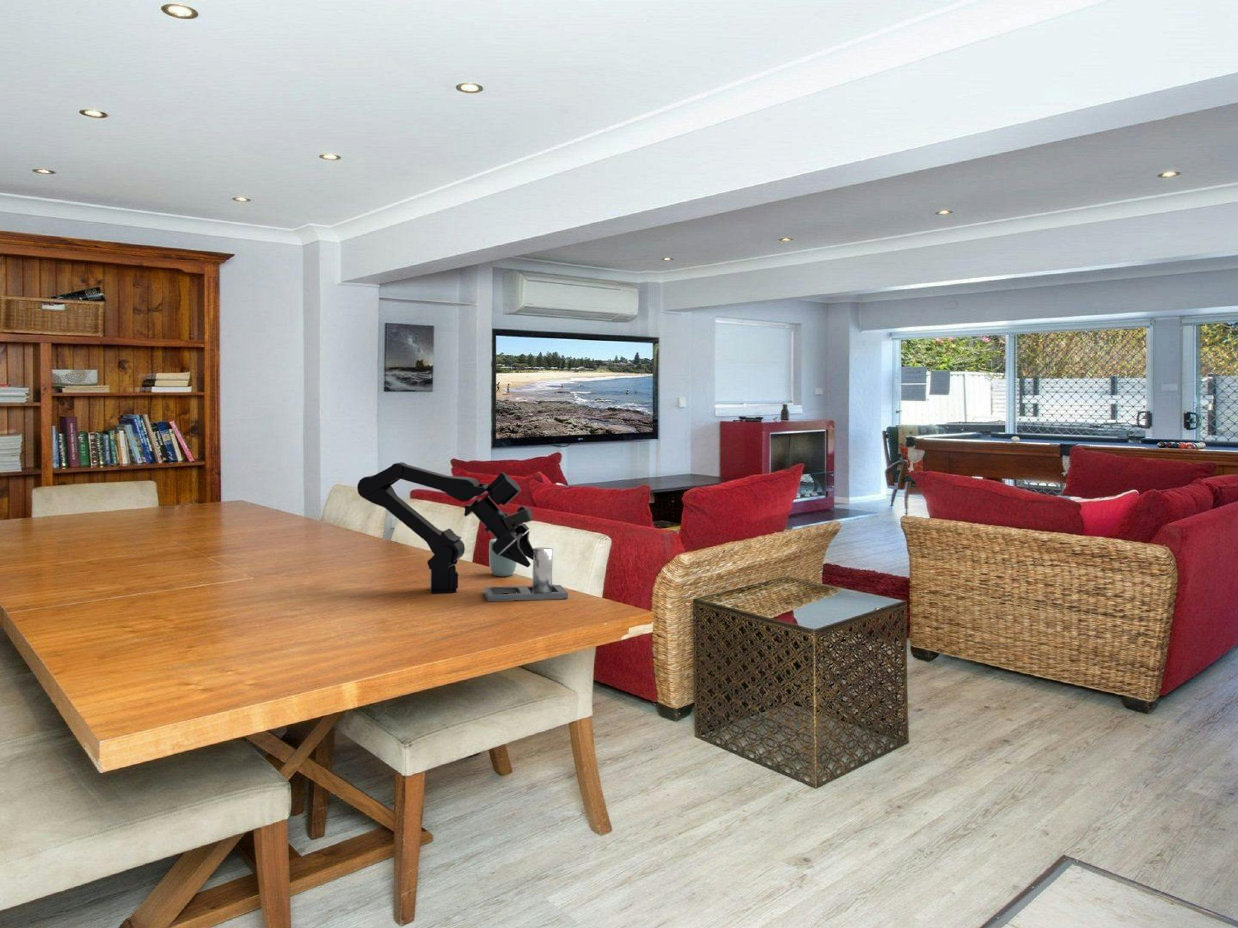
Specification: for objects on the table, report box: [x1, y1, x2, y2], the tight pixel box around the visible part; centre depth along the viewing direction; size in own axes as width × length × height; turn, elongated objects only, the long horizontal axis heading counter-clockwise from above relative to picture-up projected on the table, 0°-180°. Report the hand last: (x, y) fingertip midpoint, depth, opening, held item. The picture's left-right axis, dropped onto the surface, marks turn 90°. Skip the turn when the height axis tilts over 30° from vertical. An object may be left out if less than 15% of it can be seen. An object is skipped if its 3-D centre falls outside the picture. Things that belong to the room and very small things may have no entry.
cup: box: [488, 538, 518, 577], centre depth 254 cm, size 8×8×10 cm
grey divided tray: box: [483, 584, 569, 603], centre depth 228 cm, size 20×10×2 cm, turn 105°
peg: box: [531, 546, 554, 593], centre depth 229 cm, size 5×5×12 cm
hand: (532, 562), depth 229 cm, fingers open, 9 cm apart
